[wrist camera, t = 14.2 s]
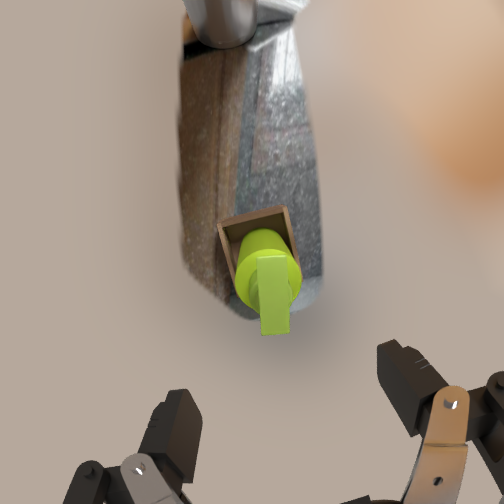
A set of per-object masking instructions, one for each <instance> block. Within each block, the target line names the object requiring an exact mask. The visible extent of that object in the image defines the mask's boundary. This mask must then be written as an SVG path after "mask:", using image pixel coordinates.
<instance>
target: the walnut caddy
mask: <svg viewBox="0 0 504 504" xmlns="http://www.w3.org/2000/svg"><path fill="white" fill-rule="evenodd" d="M259 227H267V228H270V229H273V230H274V231H276V232H277V233H278V234H279V235H280V236H281V238H282V239H283V241H284V243H285V244H286V246H287V248H288V249H289V251H290V253H291V254H292V256H293V258H294V259H295V261H296V263H297V264H298V266H299V269H300V271H301V267H300V263H299V258H298V253H297V249H296V244H295V240H294V235H293V231H292V227H291V222H290V218H289V214H288V210H287V207H286V206H284V205H282V204H281V205H277V206H273V207H269V208H265V209H261V210H257V211H253V212H249V213H245V214H241V215H237V216H233V217H229V218H226V219H222V220H220V221H219V222H218V223H217V228H218V232H219V235H220V239H221V242H222V246H223V249H224V253H225V257H226V260H227V264H228V267H229V270H230V274H231V277H232V281H233V284H234V288H235V291H236V287H235V275H236V269H237V263H238V257H239V252H240V246H241V242H242V240H243V238H244V236H245V235H246V234H247V233H248V232H249V231H251V230H253V229H255V228H259ZM301 276H302V272H301ZM302 282H303V277H302ZM236 294H237V291H236ZM238 297H239V296H238V294H237V298H238Z"/></svg>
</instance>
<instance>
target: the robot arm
mask: <svg viewBox="0 0 504 504" xmlns="http://www.w3.org/2000/svg"><path fill="white" fill-rule="evenodd" d="M183 2H184V5H185V7H186V10H187V13H188V15H189V18H190V21H191V24H192V26H193V29H194V32H195V35H196V37H197V38H198V40H199V41H200V42H202V43H203V44H205V45H206V46H209V47H212V48H218V49H226V48H233V47H236V46H239V45H241V44H243V43H245V42H247V41H248V40H249V39H250V38H251V37H252V36H253V35H254V33H255V31H256V28H257V13H258V0H183ZM377 375H378V380H379V383H380V385H381V387H382V388H383V390H384V391H385V393H386V395H387V397H388V399H389V400H390V402H391V404H392V405H393V407H394V409H395V410H396V412H397V414H398V416H399V417H400V419H401V421H402V422H403V424H404V426H405V428H406V429H407V431H408V433H409V435H410V437H413V436H415V435H418V434H420V435H421V437H422V438H423V439H422V442H421V446H420V449H419V452H418V455H417V458H416V461H415V464H414V468H413V470H412V473H411V476H410V479H409V481H408V484H407V486H406V488H405V491H404V493H403V495H402V498H401V500H400V501H395V500H372V501H371V500H370V497H369V495H367V496H364V497H361V498H358V499H355V500H351V501H348V502H344V503H341V504H456V501H457V498H458V494H459V490H460V486H461V482H462V478H463V474H464V469H465V464H466V459H467V453H468V445H465V442H467V441H470V440H472V441H473V443H474V445H475V446H476V448H477V450H478V451H479V453H480V455H481V456H482V458H483V460H484V461H485V463H486V465H487V467H488V469H489V471H490V472H491V474H492V476H493V478H494V480H495V482H496V484H497V485H498V487H499V489H500V491H501V493H502V495H503V496H502V498H501V500H500V502H499V504H504V371H500V372H497V373H494V374H493V375H491V377H490V378H489V380H488V382H487V385H486V386H484V387H480V388H477V389H473V390H469V391H466V390H465V389H464V388H462V387H460V386H449V385H448V383H447V382H446V381H445V380H444V379H443V378H442V377H441V375H440V374H439V373H438V372H437V371H436V370H435V369H434V368H433V366H432V365H430V363H429V362H428V361H427V360H426V359H425V358H424V357H423V355H422V354H421V353H420V352H419V351H418V350H416V349H414V348H411V347H409V346H407V347H404V348H402V346H401V345H400V344H399V343H398V342H397V341H396V340H395V339H393V340H390V341H388V342H385V343H382V344H380V345H378V346H377ZM201 430H202V416H201V413H200V411H199V409H198V407H197V405H196V403H195V402H194V400H193V398H192V396H191V394H190V392H189V391H188V390H187V389H179V390H170V391H169V392H168V394H167V397H166V400H165V402H160V404H159V405H158V406H157V407H156V408H155V409H154V410H153V413H152V416H151V418H150V421H149V424H148V428H147V429H146V431H145V434H144V437H143V440H142V442H141V445H140V448H139V450H138V453H137V454H133V455H130V456H129V457H127V458H126V459H125V460H124V461H123V463H122V464H121V466H115V467H109V468H104V467H103V466H102V465H101V464H100V463H99V462H97V461H93V460H91V461H86V462H84V463H82V464H81V465H80V466H79V467H78V468H77V470H76V472H75V475H74V477H73V480H72V482H71V484H70V487H69V489H68V491H67V494H66V496H65V499H64V502H63V504H103V502H104V503H106V504H192V502H191V501H190V500H189V499H188V497H187V496H186V494H185V493H184V492H183V491H182V490H181V489H182V484H183V483H193V477H194V471H195V465H196V459H197V454H198V448H199V441H200V436H201Z"/></svg>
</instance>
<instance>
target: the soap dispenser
mask: <svg viewBox="0 0 504 504" xmlns="http://www.w3.org/2000/svg"><path fill="white" fill-rule="evenodd" d="M301 283H302V276H301V271H300V269H299V266H298V264H297V263H296V261H295V259H294V258H293V256H292V254H291V253H290V251H289V249H288V248H287V246H286V244H285V243H284V241H283V239H282V238H281V236H280V235H279V234H278V233H277V232H276V231H274V230H273V229H270V228H267V227H259V228H255V229H253V230H251V231H249V232H248V233H247V234H246V235H245V236H244V238H243V240H242V242H241V246H240V252H239V257H238V263H237V269H236V275H235V287H236V291H237V294H238V296H239V297H240V299H241V300H242V301H243V302H244V303H245V304H246V305H247V306H249V307H250V308H252V309H254V310H255V311H256V312H257V313H258V314H260V321H261V335H262V336H263V335H276V334H287V333H290V329H289V328H290V325H289V322H290V321H289V307H290V306H291V304H292V302H293V301H294V299H295V298H296V297H297V295H298V293H299V291H300V288H301Z"/></svg>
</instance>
